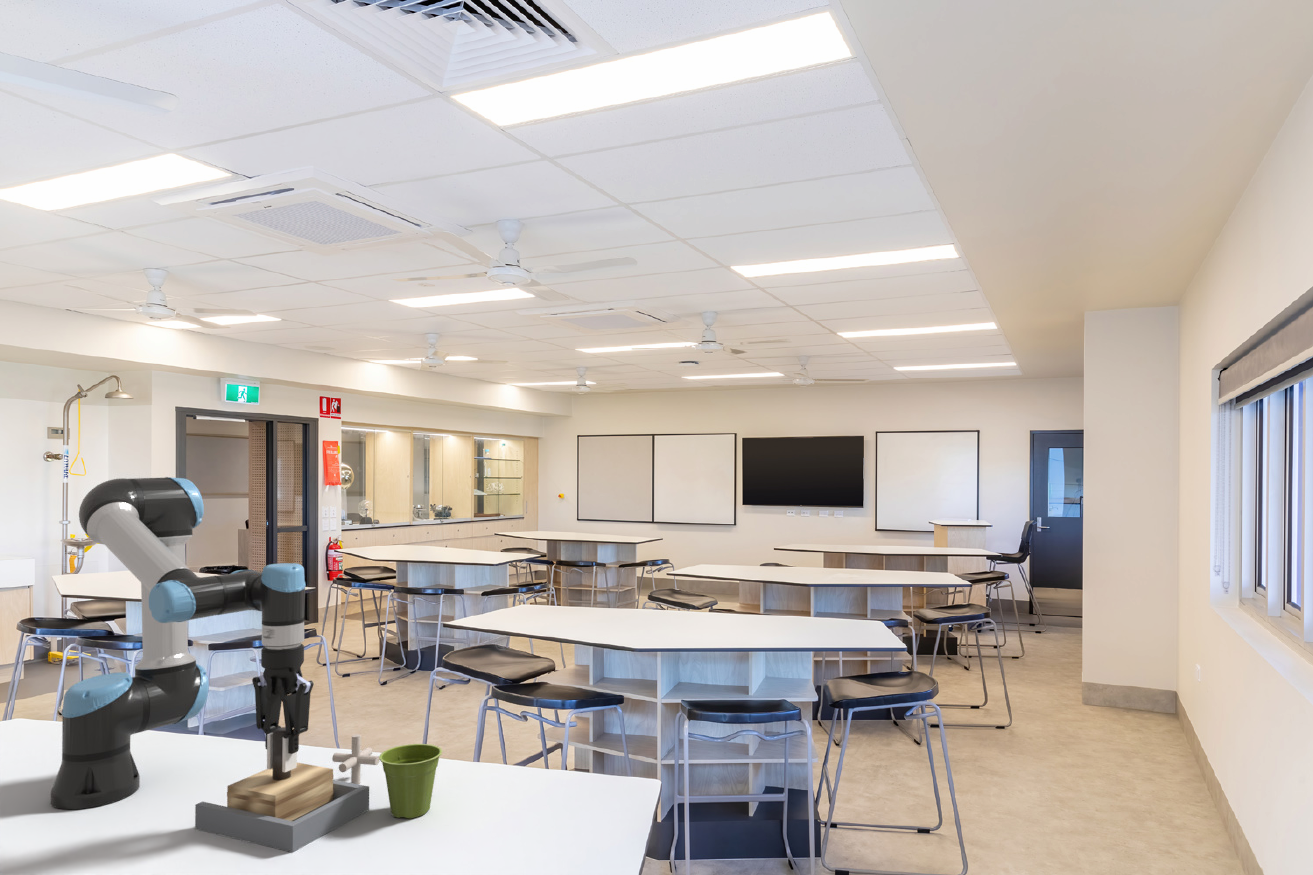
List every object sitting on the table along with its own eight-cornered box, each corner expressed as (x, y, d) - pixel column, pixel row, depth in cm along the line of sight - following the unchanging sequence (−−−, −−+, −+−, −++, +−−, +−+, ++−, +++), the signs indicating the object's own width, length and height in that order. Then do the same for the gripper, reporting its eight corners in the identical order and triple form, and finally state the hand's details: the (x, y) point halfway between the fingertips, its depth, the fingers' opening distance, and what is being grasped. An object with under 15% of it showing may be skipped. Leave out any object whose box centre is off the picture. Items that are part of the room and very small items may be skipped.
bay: (195, 828, 154) (195, 804, 154) (277, 790, 171) (277, 769, 171) (292, 852, 144) (292, 826, 145) (369, 809, 162) (369, 786, 162)
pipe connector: (364, 794, 169) (364, 745, 170) (320, 790, 171) (321, 741, 172) (389, 775, 179) (389, 729, 180) (347, 772, 181) (348, 726, 182)
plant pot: (454, 806, 164) (454, 748, 164) (410, 829, 153) (411, 768, 154) (410, 794, 169) (410, 739, 170) (365, 816, 159) (365, 757, 159)
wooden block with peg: (226, 818, 154) (227, 737, 154) (286, 790, 167) (287, 715, 167) (275, 829, 149) (276, 745, 150) (333, 799, 162) (333, 722, 163)
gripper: (235, 645, 159) (233, 768, 158) (300, 652, 152) (298, 781, 152) (267, 637, 166) (266, 755, 165) (330, 644, 159) (329, 767, 159)
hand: (281, 767), depth 158 cm, fingers closed on wooden block with peg, 3 cm apart
